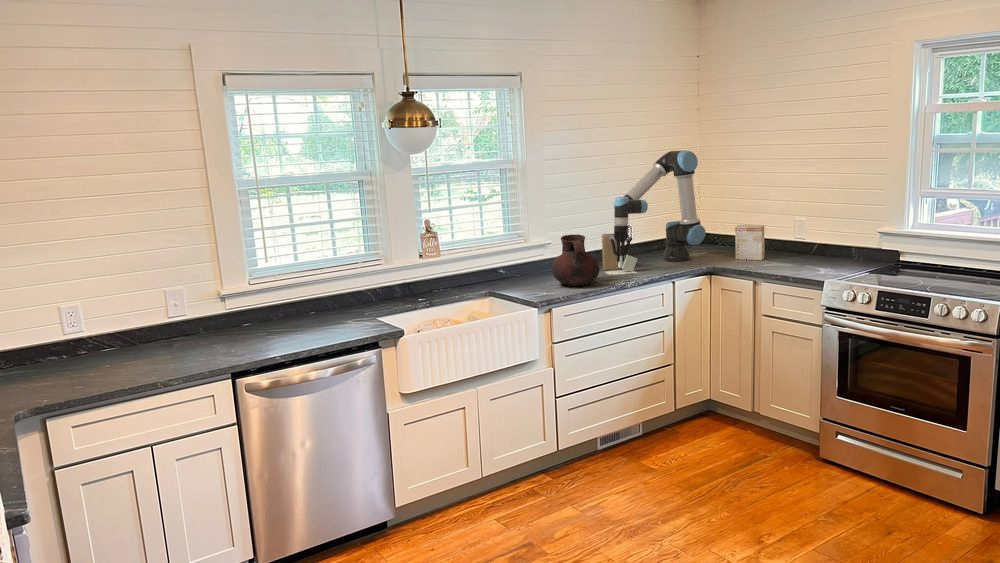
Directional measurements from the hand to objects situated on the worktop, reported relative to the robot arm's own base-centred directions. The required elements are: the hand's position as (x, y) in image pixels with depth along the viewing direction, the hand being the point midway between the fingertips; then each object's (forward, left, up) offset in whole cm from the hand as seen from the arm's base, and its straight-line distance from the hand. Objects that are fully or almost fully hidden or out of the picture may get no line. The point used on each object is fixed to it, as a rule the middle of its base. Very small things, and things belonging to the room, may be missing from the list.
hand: (620, 267), depth 411 cm
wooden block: (+1, -13, -3) cm, 14 cm away
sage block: (-3, 0, -2) cm, 4 cm away
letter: (0, 0, -3) cm, 3 cm away
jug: (+31, +21, -3) cm, 37 cm away
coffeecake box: (-80, -7, -3) cm, 81 cm away
